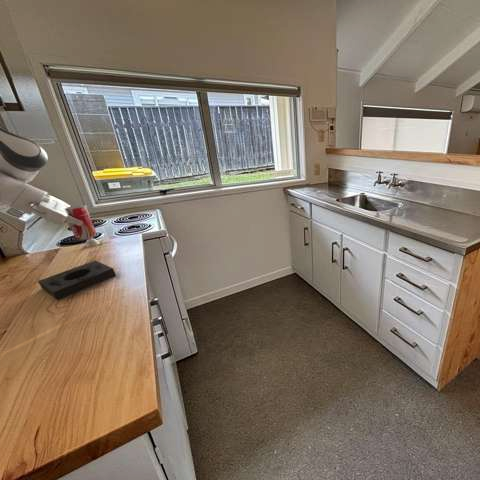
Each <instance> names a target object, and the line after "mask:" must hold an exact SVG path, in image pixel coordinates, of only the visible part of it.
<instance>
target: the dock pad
mask: <svg viewBox="0 0 480 480" xmlns="http://www.w3.org/2000/svg"><path fill="white" fill-rule="evenodd" d="M116 276H117V274H116V272H115V270H114V268H113V267H111V266H108V265H107V264H105V263H102V262H100V261H98V260H92V261H90V262H87V263H83V264H81V265H78V266H76V267H73V268H70V269H67V270H64V271H61V272H59V273H56V274H54V275H50V276H48V277H45V278H42V279H40V280H38V281H37V283H38V284H39V286H40V288H41V289H42V290H43V291H44V292H46V293H47V294H48V295H50V296H51V297H52V298H54V299H55V300H57V301H60V300H62V299H65V298H67V297H69V296H71V295H74V294H76V293H79V292H81V291H84V290H85V289H88V288H91V287H93V286H95V285H97V284H100V283H102V282H104V281H106V280H109V279H111V278H113V277H116Z"/></svg>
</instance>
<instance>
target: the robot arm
mask: <svg viewBox="0 0 480 480" xmlns="http://www.w3.org/2000/svg"><path fill="white" fill-rule="evenodd" d="M48 160H49V157H48V154H47V152H46V150H45V149H44V148H43V147H42V146H40V144H38V143H36V142H35V141H33V140H30V139H29V138H26V137H23V136H21V135H18V134H16V133H14V132H11V131H9V130H7V129H6V128H3V127H2V126H0V203H1V204H4V205H6V206H7V207H9V208H11V209H14V210H16V211H19V212H22V213H24V214H27V215H32V214H33V215H35V216H37V217H40V218H42V219H44V220H46V221H49V222H51V223H54V224H57V225H62V224H63V223H64V222H65V223H68V224H69V223H72V224H76V225H78V226H81V225H82V223H83V221H82V220H79V219H76V218H73V217H71V216H69V215H68V214H69V212H68V211H67V210H65V208H67V207H71V205H70V204H69V203H67V202H65V201H63V200H61V199H59V198H56V197H55V196H53V195H50V194H49V192H48V191H46V190H44V189H40V188H38V187H35V186H33V185H32V184H29V183H31V182H32V181H33V180H34V179H35V177H36V176H38V173H39V172H40V171H41V169H43V168H44V167H45V166H46V165H47V163H48V162H49V161H48Z"/></svg>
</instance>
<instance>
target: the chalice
mask: <svg viewBox="0 0 480 480" xmlns="http://www.w3.org/2000/svg"><path fill="white" fill-rule="evenodd" d="M81 205H82V206H83V207H84V208H86V209H87V207H88V206H87V204H81ZM87 211H88V214H89V216H90V217H91V215H90V213H89V210H88V209H87ZM93 244H94V245H93ZM97 245H100V241H98V239H96V238H90V239H86V241H85V247H86V248H88V247H94V246H97Z"/></svg>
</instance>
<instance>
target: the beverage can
mask: <svg viewBox="0 0 480 480" xmlns="http://www.w3.org/2000/svg"><path fill="white" fill-rule="evenodd" d="M82 205H83V204H78V205H72V206H71V205H70V206H71V207H67V208H65V210H67V211H68V212H69V214H68V215H69V216H71V217H73V218H76V219H79V220H82V221H83V223H82V225H81V226H78V225H76V224H72V223H68V226H69V228H70V229H71V231H72V235H73V236H74V239H76V240H79V241H85V240H86V241H87V240H88V239H90V238H92V239H94V238H95V236H96V235H97V234H98V233H97V231H96V229H95V226H94V224H93V221H92V219H91V215H90V213H89V210H88V209H86V208H84V207H83V206H82ZM87 210H88V211H87ZM88 213H89V214H88ZM89 215H90V216H89Z"/></svg>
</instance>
